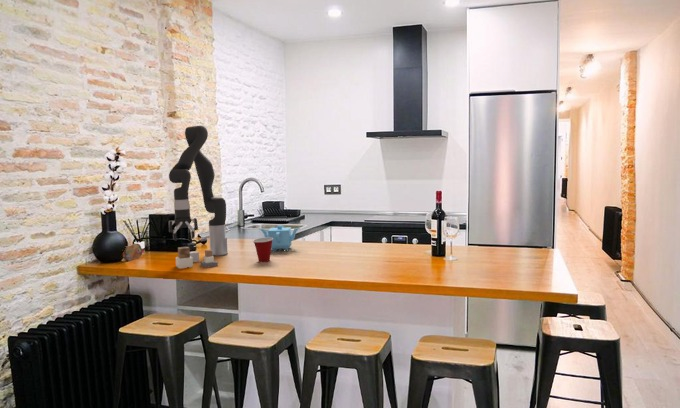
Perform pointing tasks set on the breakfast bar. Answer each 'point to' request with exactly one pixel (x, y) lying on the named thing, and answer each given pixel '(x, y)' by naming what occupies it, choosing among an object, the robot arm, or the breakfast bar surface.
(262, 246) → the plastic cup
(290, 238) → the teakettle
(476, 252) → the breakfast bar surface
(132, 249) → the stone slab
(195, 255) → the grey cube
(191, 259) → the base block
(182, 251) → the walnut cube
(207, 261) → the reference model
